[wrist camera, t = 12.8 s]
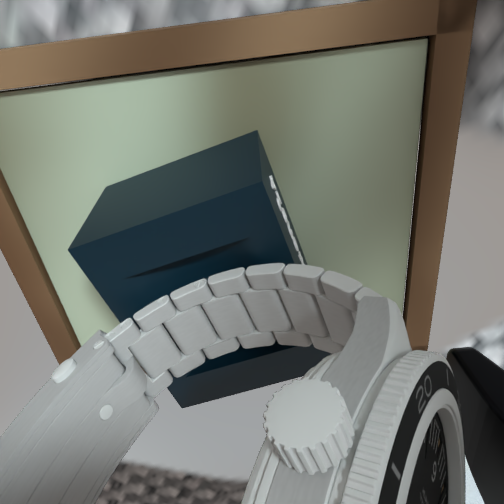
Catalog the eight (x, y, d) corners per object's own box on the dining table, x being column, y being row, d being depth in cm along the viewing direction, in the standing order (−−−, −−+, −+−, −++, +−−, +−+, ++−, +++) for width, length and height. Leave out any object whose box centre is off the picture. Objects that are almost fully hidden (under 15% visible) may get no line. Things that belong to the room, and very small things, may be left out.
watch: (379, 273, 14) (671, 927, 4) (144, 343, 15) (-9, 948, 6) (332, 97, 11) (902, 938, 1) (47, 205, 12) (-574, 979, 3)
